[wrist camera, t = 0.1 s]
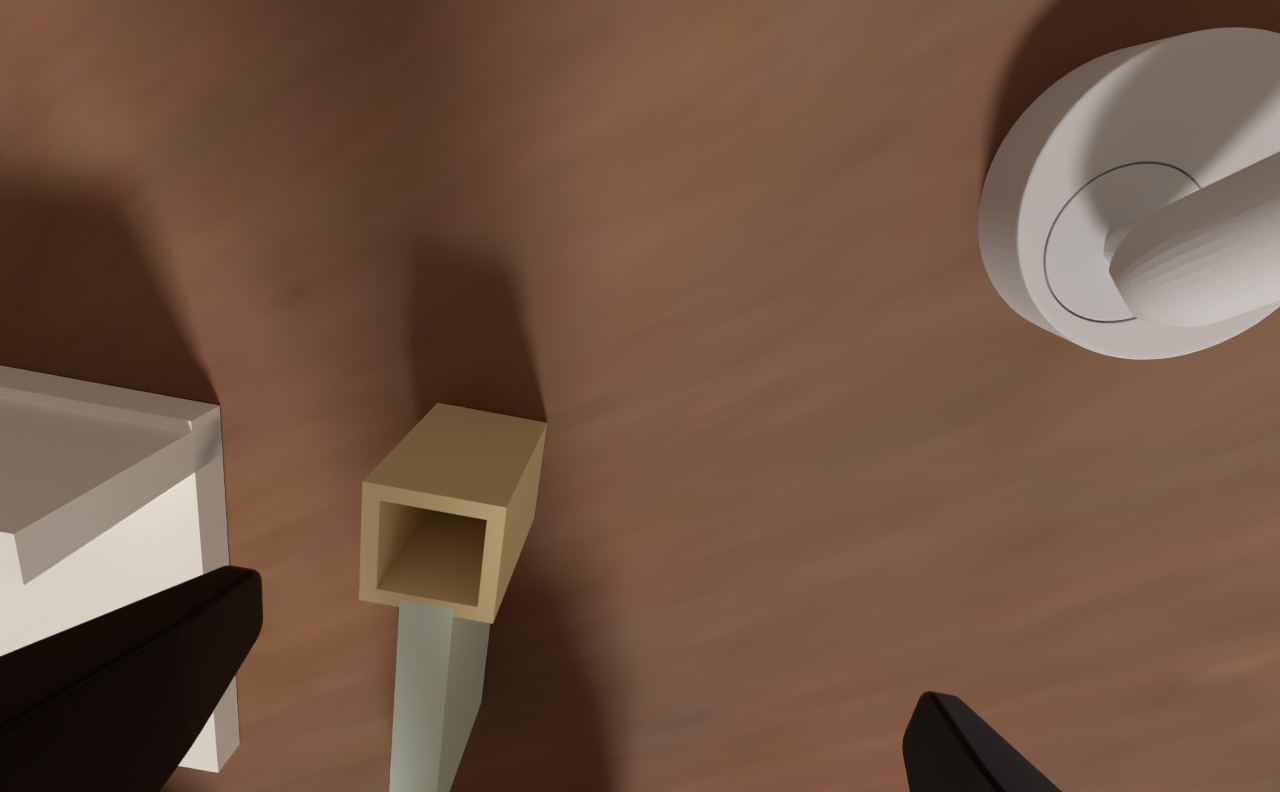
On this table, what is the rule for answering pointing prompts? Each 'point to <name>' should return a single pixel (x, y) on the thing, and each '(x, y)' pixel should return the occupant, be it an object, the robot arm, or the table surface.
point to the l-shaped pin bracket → (107, 512)
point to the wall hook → (1144, 197)
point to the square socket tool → (445, 571)
